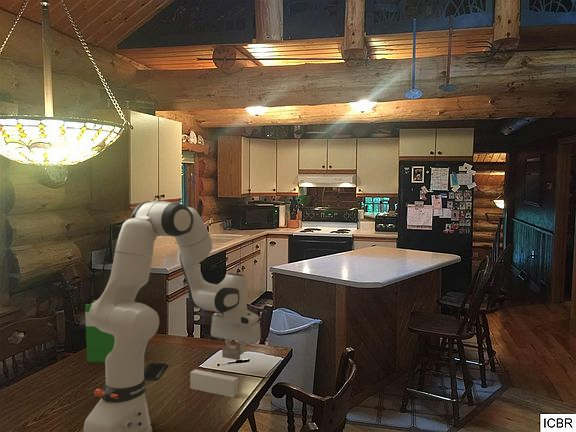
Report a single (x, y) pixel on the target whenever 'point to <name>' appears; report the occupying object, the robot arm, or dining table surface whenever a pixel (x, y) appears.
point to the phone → (154, 371)
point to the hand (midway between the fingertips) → (235, 351)
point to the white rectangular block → (214, 383)
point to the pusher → (233, 351)
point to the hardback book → (97, 340)
